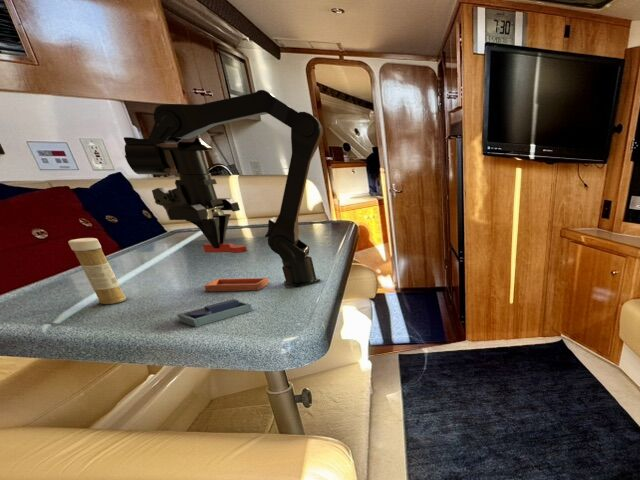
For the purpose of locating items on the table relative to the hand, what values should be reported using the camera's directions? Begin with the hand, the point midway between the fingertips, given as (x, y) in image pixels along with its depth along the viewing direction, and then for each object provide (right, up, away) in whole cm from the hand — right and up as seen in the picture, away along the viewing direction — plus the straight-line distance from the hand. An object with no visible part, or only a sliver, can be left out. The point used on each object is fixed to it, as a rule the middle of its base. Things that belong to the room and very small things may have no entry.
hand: (218, 247), depth 95 cm
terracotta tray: (+1, -8, +5) cm, 10 cm away
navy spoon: (+9, -18, -13) cm, 24 cm away
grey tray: (+9, -19, -13) cm, 24 cm away
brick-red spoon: (+1, -1, +1) cm, 2 cm away
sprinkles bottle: (-19, -14, -6) cm, 25 cm away
